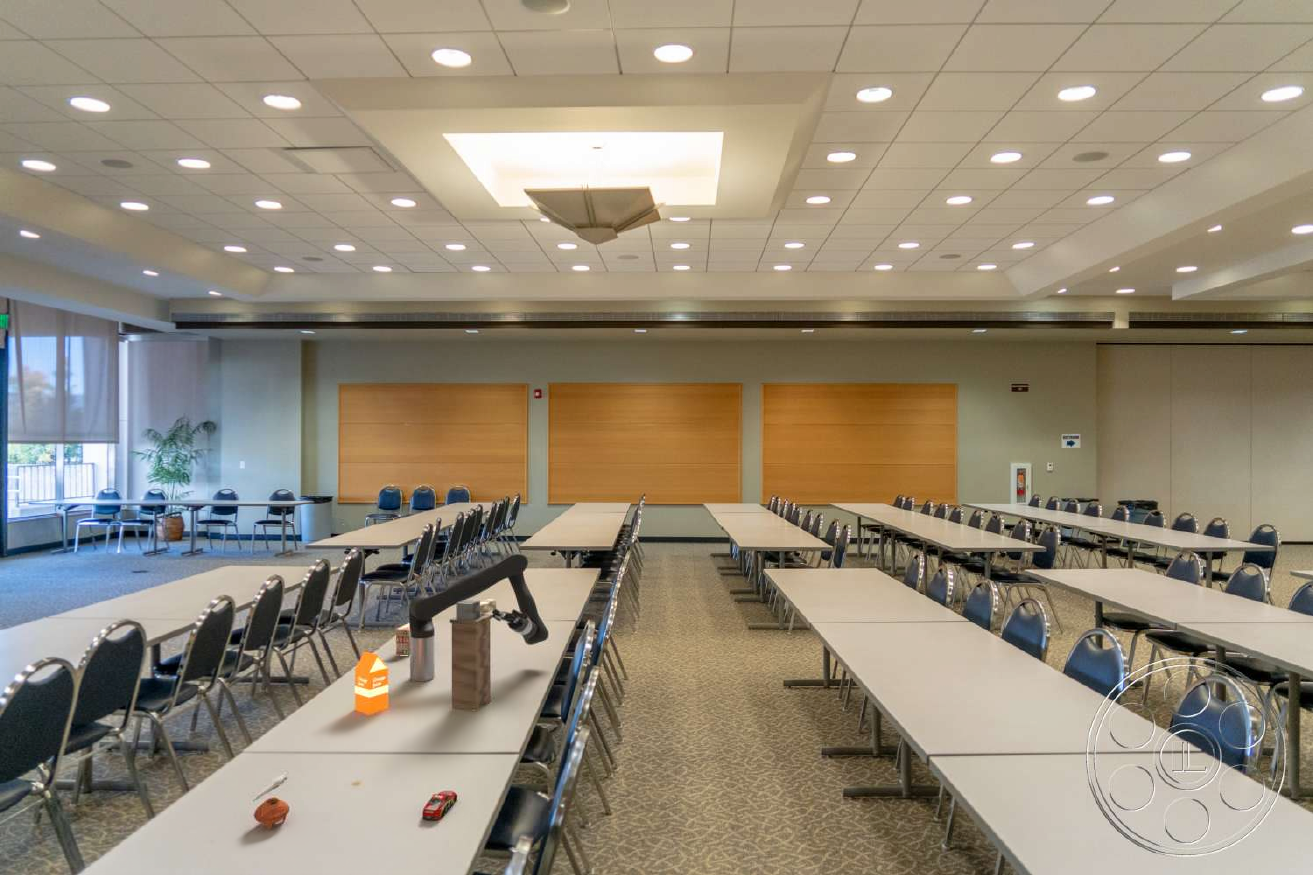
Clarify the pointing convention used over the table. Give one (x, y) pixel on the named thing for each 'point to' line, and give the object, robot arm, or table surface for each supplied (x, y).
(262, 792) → the white tapered stick
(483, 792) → the table surface
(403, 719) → the table surface
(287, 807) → the pot
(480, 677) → the pedestal
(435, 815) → the race car
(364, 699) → the orange juice
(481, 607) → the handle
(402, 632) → the red printed box
